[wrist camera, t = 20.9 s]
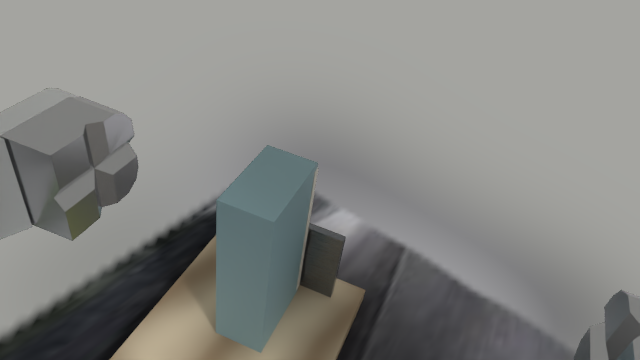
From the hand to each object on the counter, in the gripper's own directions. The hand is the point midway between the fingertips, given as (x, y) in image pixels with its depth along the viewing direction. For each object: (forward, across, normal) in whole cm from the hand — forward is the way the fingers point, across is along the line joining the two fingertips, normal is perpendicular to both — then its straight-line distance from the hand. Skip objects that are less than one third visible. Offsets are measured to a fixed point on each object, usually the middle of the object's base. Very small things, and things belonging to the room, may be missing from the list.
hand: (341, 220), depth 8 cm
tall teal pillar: (+18, +10, +30) cm, 36 cm away
